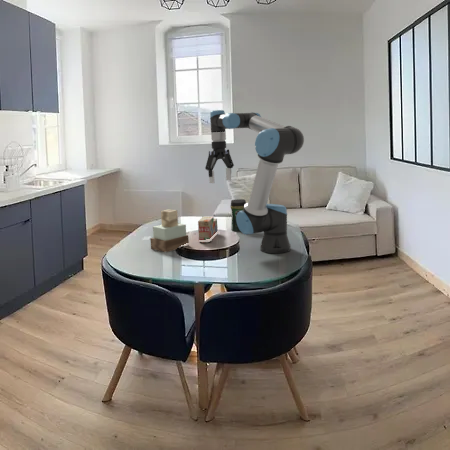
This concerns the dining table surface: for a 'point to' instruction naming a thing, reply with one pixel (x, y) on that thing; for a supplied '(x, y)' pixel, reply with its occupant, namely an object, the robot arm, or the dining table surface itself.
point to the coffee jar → (236, 207)
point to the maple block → (169, 218)
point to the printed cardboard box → (207, 227)
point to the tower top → (169, 232)
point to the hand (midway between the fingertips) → (220, 181)
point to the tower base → (168, 243)
